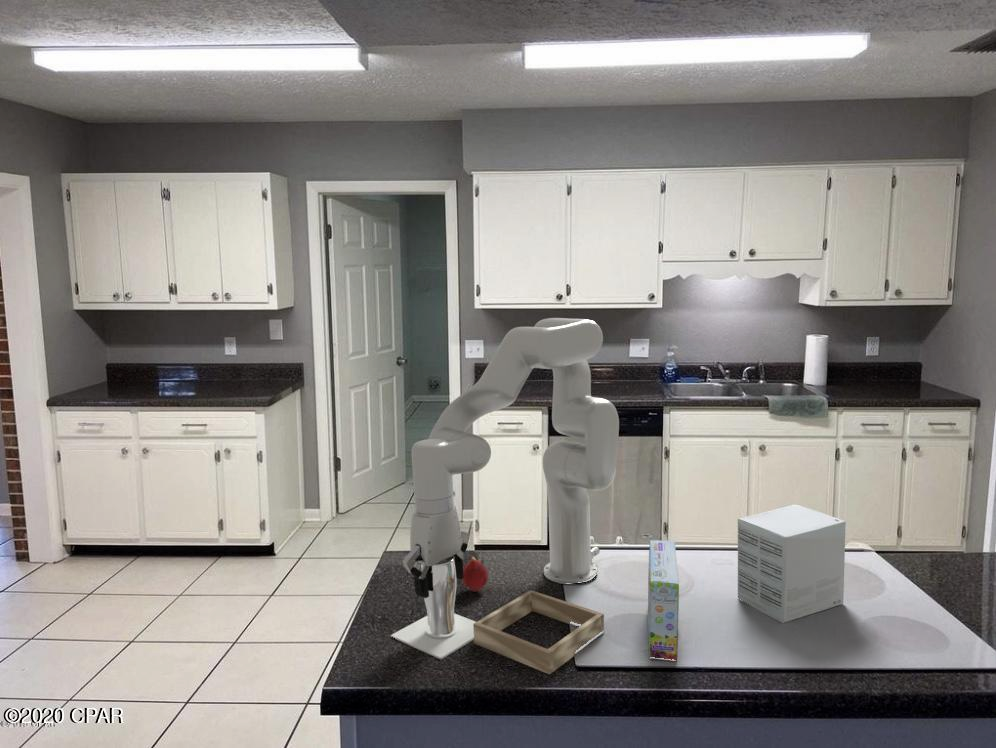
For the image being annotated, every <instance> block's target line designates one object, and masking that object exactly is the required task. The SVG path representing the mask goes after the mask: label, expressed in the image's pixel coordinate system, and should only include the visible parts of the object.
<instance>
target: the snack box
mask: <svg viewBox="0 0 996 748" xmlns="http://www.w3.org/2000/svg"><path fill="white" fill-rule="evenodd" d="M648 549H649V551H648V572H647V573H648V575H647V576H648V579H647V580H648V583H647V594H648V595H647V616H648V617H647V619H648V620H647V623H648V626H647V627H648V650H649V652H648V653H649V654H648V656H649V655H650V657H655V658H664V659H671V660H672V659H674V660H677V661H678V645H679V644H678V643H679V642H678V641H679V610H680V609H679V605H680V604H679V603H680V598H679V597H680V585H679V583H680V582H679V571H678V562H677V553H676V549H677V548H676V542H675V540H656V539H655V540H651V539H650V540H649V548H648Z"/></svg>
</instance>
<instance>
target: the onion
mask: <svg viewBox="0 0 996 748" xmlns="http://www.w3.org/2000/svg"><path fill="white" fill-rule="evenodd" d="M488 573H489V572H488V570H487V568H486V567H485V565H484V564H483V563H482V562H481V561H479V560H477V559H476V557H474V556H471V560H470V561H469V562H467V564H466V565H465V566H463V575H464V578H463V579H461V580H462V582H463V584H464V585H465V587H467V588H468V590H471V591H472V592H475V593H476V592H478V591H480V590H481V589H482V588H484V587H485V586H486V585H487V582H488V577H489V574H488Z"/></svg>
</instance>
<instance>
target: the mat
mask: <svg viewBox="0 0 996 748" xmlns="http://www.w3.org/2000/svg"><path fill="white" fill-rule="evenodd" d="M454 617H455V622H456V626H457V631H456V632H455V633H454V634H453V635H451V636H449V637H445V638H434V637H431V636H429V635H428V634H427V633H426V628H427V619H428V618H427V615H425V616H424V617H422V618H420V619H418V620H416V621H415V622H412V623H411V624H408V625H407V626H405V627H404V628H401V629H400V630H398V631H396V632H394V633H392V634H391V635H390V638H392V637H393V639H394V638H395V640H397V641H398V642H401V643H403V644H405V645H407V646H410V647H412V648H413V649H414V648H415V649H417V650H419V651H421V652H424V653H425V654H428V655H430V656H433V658H437V659H438V660H443V659H445V658H446V657H448V656H449V655H452V654H453V653H454V652H456V651H457V650H459V649H461V648H463V647H464V646H466V645H467V644H469V643H471V642H473V641H474V628H473V624H474V623H476V622H477V621H475V620H472V619H470V618H468V617H464V616H463V615H459V614H457V613H455V612H454Z"/></svg>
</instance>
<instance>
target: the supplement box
mask: <svg viewBox="0 0 996 748" xmlns="http://www.w3.org/2000/svg"><path fill="white" fill-rule="evenodd" d="M846 525H847V523H846V521H845V520H843V519H841V518H837V517H834V516H832V515H829V514H826V513H824V512H820V511H818V510H814V509H811V508H808V507H805V506H803V505H800V504H797V503H793V504H790V505H788V506H784V507H780V508H775V509H772V510H767V511H764V512H760V513H757V514H751V515H747V516H743V517H740V518H737V599H738V598H739V599H741V600H742V601H744V602H745V604H746V603H747V604H746V605H748V604H749V605H748V606H750V605H751V606H750V607H752V606H753V607H754V608H753V607H752V608H753V609H755V608H756V610H757V611H759V612H761V613H763V614H765V615H767V616H768V617H770V618H772V619H774V620H776V621H777V622H779V623H781V624H785V623H787V622H788V623H789V622H790V621H793V620H797V619H800V618H803V617H806V616H810V615H813V614H815V613H816V614H817V613H818V612H821V611H825V610H828V609H832V608H834V607H837V606H840V605H841V606H842V605H843V604H844V590H845V588H844V587H845V586H844V585H845V584H844V583H845V558H846V555H845V554H846V553H845V552H846V551H845V550H846ZM739 599H738V600H739ZM741 600H740V601H741ZM742 601H741V602H742ZM744 602H743V603H744Z"/></svg>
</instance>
